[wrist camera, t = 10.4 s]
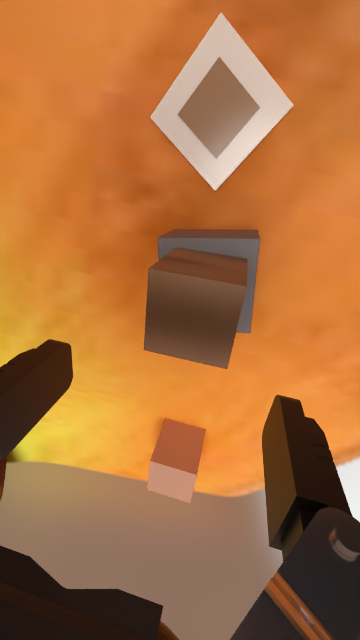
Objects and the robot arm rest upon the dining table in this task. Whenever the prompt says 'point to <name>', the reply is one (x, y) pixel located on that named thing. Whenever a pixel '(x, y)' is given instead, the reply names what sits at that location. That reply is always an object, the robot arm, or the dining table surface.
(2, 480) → the jug
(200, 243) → the charcoal block
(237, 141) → the tile
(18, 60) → the dining table surface
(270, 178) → the dining table surface
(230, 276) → the walnut block
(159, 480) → the terracotta block
